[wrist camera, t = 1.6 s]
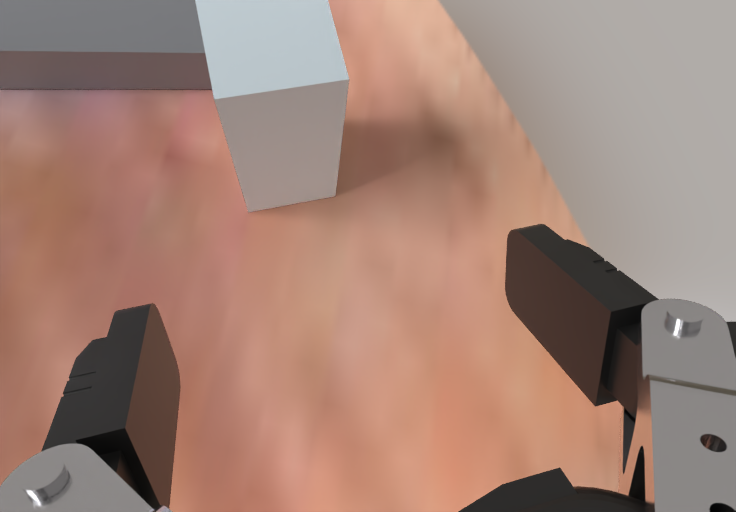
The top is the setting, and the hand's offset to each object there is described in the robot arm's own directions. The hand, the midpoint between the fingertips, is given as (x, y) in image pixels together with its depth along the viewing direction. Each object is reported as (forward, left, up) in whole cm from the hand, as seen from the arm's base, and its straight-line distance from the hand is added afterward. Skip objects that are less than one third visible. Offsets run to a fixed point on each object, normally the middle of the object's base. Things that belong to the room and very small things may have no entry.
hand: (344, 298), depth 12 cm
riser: (-11, +20, -14) cm, 27 cm away
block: (-2, +10, -14) cm, 17 cm away
